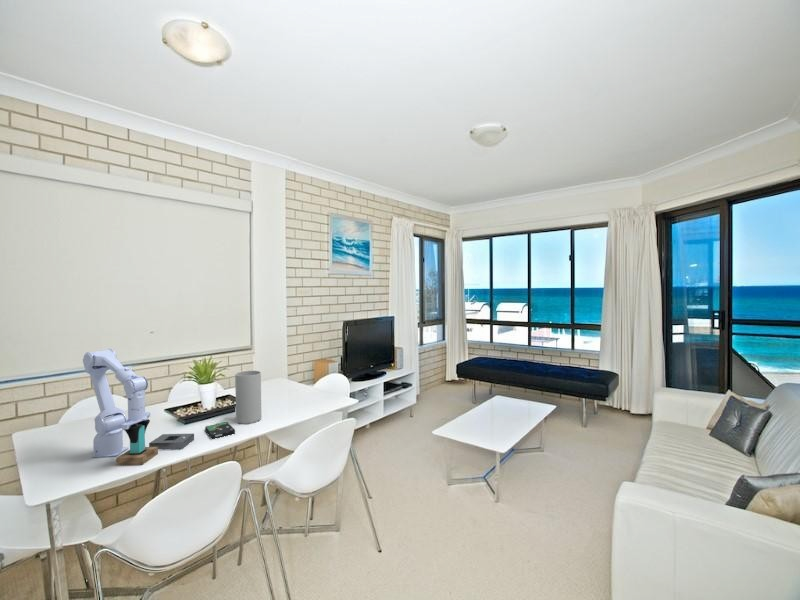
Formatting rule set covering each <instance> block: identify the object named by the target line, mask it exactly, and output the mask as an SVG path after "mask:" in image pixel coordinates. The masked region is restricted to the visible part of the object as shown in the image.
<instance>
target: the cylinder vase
mask: <svg viewBox="0 0 800 600" xmlns="http://www.w3.org/2000/svg"><path fill="white" fill-rule="evenodd" d="M234 376H235V377H234V380H235V384H234V385H235V387H234V388H235V421H236V423H238V424H240V423H241V424H243V425H249V424H253V422H254V423H257V422H259V421H260V420H261V419H262V372H261V371H260V370H245V371H240V372H236V373H235V374H234ZM248 423H249V424H248Z"/></svg>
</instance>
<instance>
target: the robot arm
mask: <svg viewBox="0 0 800 600" xmlns="http://www.w3.org/2000/svg"><path fill="white" fill-rule="evenodd" d="M82 363H83V367H84V370H85V373H86V374H87V375H89V377H90V381H91V384H92V387H93V391H94V394H95V398H96V401H97V404H98V407H99V411H100V412H99V413H97V415H96V416H95V417H94V419H93V420H94V430H95V432H96V433H97V434H96V435H95V436H94V438H93V444H92V445H93V455H92V456H91V457H92V458H99V457H101V458H105V457H108V458H110V457H116V456H117V457H118V455H120V454H123V453H124V452H126V451H127V450H129V448H128V447H124V443H123V442H124V439H123V431H124V432H125V433H126V435H127V436H128V439H129V443H130V442H131V443H137V440H138V432H139V429H140V427H141V426H136V424H142V425H145V432H146V430H147V428H148V425H149V423H150V422H151V420H150V419H149V418H150V417H151V411H149V412H148V411H146V394H145V393H146V390H147V389H148V387H149V381H148V379H147V378H146V376H145V375H143V376H141V375H138V374H136V373H135V372H134V371H133V370H132V369H131V368H130V367H128V366H127V367H126V366H123V365H122V363H121V362H120V361H119V359H117V353H116V351H114V349H112V348H108V349H104V350H96V351H88V352H85V354H84V355H83V358H82ZM109 370H111V371H112V372H113V373H115V374H114V375H115V376H114V377H115V379H116V380H117V381H119V383H120V384H122V385H123V390H124V392H125V398H127V415H126V414H125V412H124V410H123V409H121V408H119V407H116V404H115V401H114V397H113V394H112V391H111V387H110V385H109V380H108V378H107V374H106V372H107V371H109Z"/></svg>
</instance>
